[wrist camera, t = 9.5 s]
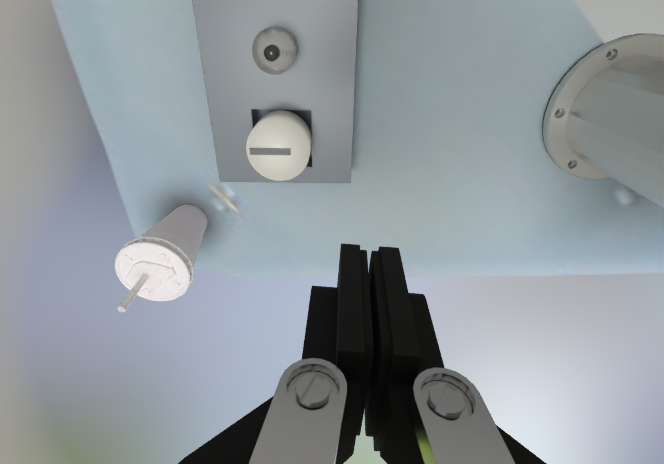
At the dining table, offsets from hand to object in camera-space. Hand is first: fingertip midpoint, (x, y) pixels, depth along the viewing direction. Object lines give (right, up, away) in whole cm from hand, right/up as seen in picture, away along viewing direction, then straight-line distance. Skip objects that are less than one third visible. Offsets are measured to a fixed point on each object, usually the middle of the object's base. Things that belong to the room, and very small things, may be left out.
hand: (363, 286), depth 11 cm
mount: (-5, +17, +20) cm, 27 cm away
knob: (-5, +11, +23) cm, 26 cm away
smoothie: (-16, +3, +29) cm, 34 cm away
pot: (-5, +16, +17) cm, 24 cm away
